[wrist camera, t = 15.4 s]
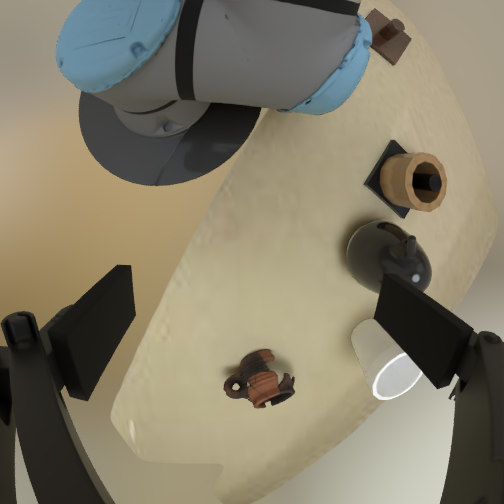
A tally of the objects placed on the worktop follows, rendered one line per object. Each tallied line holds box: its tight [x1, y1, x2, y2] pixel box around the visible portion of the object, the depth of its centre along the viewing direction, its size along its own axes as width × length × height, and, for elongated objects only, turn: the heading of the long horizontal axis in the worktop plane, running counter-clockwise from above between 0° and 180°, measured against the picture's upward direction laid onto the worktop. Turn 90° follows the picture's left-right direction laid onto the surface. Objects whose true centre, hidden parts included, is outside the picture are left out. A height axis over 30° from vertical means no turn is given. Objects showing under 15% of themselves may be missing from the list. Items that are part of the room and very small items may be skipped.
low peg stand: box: [365, 9, 411, 65], centre depth 30 cm, size 8×8×6 cm
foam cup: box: [351, 319, 423, 400], centre depth 40 cm, size 10×9×13 cm
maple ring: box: [380, 153, 447, 212], centre depth 35 cm, size 8×8×7 cm
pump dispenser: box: [347, 220, 432, 294], centre depth 35 cm, size 10×10×15 cm
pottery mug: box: [223, 350, 295, 408], centre depth 44 cm, size 12×10×8 cm
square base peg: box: [364, 140, 442, 219], centre depth 35 cm, size 9×9×10 cm
